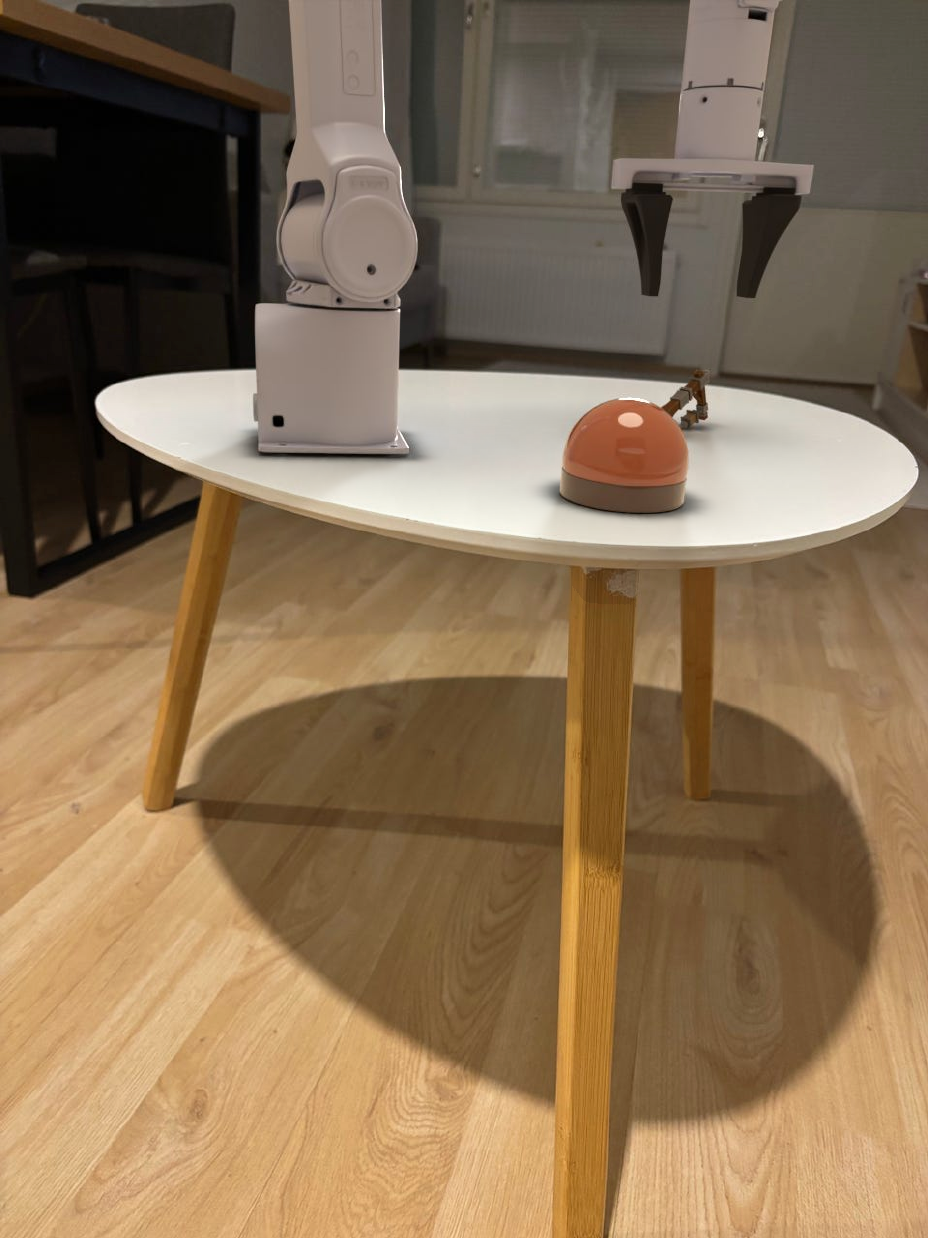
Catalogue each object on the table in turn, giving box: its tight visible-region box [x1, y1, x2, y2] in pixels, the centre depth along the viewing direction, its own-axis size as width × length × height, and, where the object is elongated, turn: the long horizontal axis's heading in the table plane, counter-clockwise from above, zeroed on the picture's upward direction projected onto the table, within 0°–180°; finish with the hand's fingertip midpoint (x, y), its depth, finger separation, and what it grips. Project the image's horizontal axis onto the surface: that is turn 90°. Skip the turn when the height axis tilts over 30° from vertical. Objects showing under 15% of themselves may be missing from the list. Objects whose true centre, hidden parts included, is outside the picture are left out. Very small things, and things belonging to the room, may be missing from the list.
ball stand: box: [559, 397, 690, 514], centre depth 51 cm, size 7×7×7 cm
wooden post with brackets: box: [661, 369, 711, 430], centre depth 73 cm, size 2×8×4 cm, turn 137°
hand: (698, 296), depth 70 cm, fingers open, 7 cm apart
